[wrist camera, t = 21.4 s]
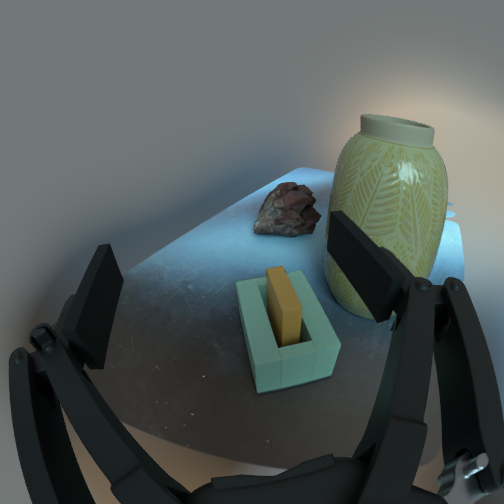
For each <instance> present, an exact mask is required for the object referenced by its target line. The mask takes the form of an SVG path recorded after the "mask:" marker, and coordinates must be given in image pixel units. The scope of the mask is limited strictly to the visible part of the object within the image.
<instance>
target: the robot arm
mask: <svg viewBox="0 0 504 504" xmlns="http://www.w3.org/2000/svg"><path fill="white" fill-rule="evenodd" d="M326 250H327V251H328V253H329V254H330V255H331V257H332V258H333V259H334V261H335V262H336V264H337V265H338V266H339V268H340V269H341V270H342V272H343V273H344V275H345V276H346V278H347V279H348V280H349V282H350V283H351V285H352V286H353V288H354V289H355V290H356V292H357V293H358V295H359V296H360V298H361V299H362V301H363V302H364V304H365V305H366V307H367V308H368V310H369V311H370V313H371V314H372V316H373V317H374V319H375V320H376V322H377V323H379V322H382V321H385V320H388V319H390V317H391V314H392V312H393V311H394V312H395V313H396V315H397V317H396V319H395V321H394V324H393V326H392V328H391V330H390V331H393V333H392V338H391V343H390V348H389V352H388V357H387V361H386V365H385V369H384V373H383V377H382V380H381V384H380V388H379V391H378V394H377V398H376V401H375V404H374V407H373V410H372V413H371V416H370V419H369V422H368V425H367V428H366V431H365V433H364V436H363V438H362V440H361V442H360V443H359V445H358V447H357V449H356V450H355V453H354V455H353V457H352V458H348V457H333V454H332V453H331V454H328V455H325V456H322V457H319V458H315V459H312V460H308V461H305V462H302V463H301V464H299V465H297V466H295V467H293V468H291V469H289V470H287V471H285V472H282V473H280V474H278V475H275V476H254V475H236V476H226V477H216V478H211V482H210V483H207V484H205V485H203V486H201V487H199V488H198V489H196V490H194V491H193V492H192V493H190V492H189V491H188V490H187V489H186V488H185V487H183V486H182V485H181V484H180V483H178V482H177V481H175V480H174V479H173V478H171V477H170V476H169V475H168V474H167V473H166V472H165V471H164V470H163V469H162V468H161V467H160V466H159V465H158V464H157V463H156V462H155V461H154V460H153V459H152V458H151V457H150V456H149V455H148V454H147V452H146V451H145V450H144V449H143V448H142V447H141V446H140V445H139V444H138V442H137V441H136V440H135V439H134V438H133V437H132V435H131V434H130V433H129V432H128V431H127V429H126V428H125V427H124V426H123V424H122V423H121V422H120V421H119V419H118V418H117V417H116V415H115V414H114V413H113V411H112V410H111V409H110V407H109V406H108V404H107V403H106V402H105V400H104V399H103V397H102V396H101V395H100V393H99V392H98V390H97V389H96V387H95V386H94V384H93V383H92V381H91V379H90V378H89V376H88V375H87V373H86V372H85V371H84V369H83V367H84V362H85V363H86V365H87V366H88V367H89V368H90V369H104V363H105V358H106V352H107V347H108V342H109V338H110V333H111V329H112V324H113V320H114V316H115V312H116V308H117V304H118V300H119V296H120V292H121V289H122V285H123V282H124V280H123V277H122V275H121V272H120V270H119V267H118V265H117V262H116V259H115V257H114V254H113V251H112V248H111V246H110V244H104V245H99V246H98V248H97V250H96V252H95V254H94V256H93V258H92V260H91V262H90V264H89V266H88V268H87V270H86V272H85V275H84V277H83V279H82V281H81V283H80V286H79V288H78V290H77V292H76V294H74V295H71V296H70V297H69V298H68V300H67V301H66V302H65V304H64V307H63V309H62V310H63V311H61V314H60V317H59V319H58V321H57V324H56V326H55V329H54V331H53V329H52V328H51V326H50V325H49V324H47V323H41V324H39V325H37V326H36V327H35V328H34V329H33V330H32V331H31V333H30V336H29V342H30V343H31V344H32V345H33V347H34V348H35V349H36V351H35V352H32V353H28V352H27V350H26V349H25V348H23V347H20V348H17V349H16V350H14V351H13V352H12V354H11V356H10V358H9V389H10V390H9V391H10V404H11V414H12V421H13V429H14V436H15V441H16V446H17V451H18V456H19V460H20V464H21V468H22V472H23V476H24V479H25V483H26V486H27V489H28V492H29V495H30V498H31V501H32V504H96V503H95V501H94V499H93V497H92V495H91V493H90V491H89V489H88V487H87V484H86V482H85V479H84V477H83V475H82V472H81V470H80V467H79V465H78V462H77V459H76V457H75V454H74V451H73V448H72V445H71V442H70V439H69V435H68V432H67V429H66V425H65V422H64V418H63V414H62V410H61V406H62V408H63V409H64V411H65V413H66V415H67V417H68V419H69V421H70V423H71V424H72V426H73V428H74V430H75V431H76V433H77V435H78V436H79V438H80V440H81V441H82V443H83V444H84V446H85V448H86V449H87V450H88V452H89V454H90V455H91V457H92V458H93V459H94V461H95V462H96V464H97V465H98V467H99V468H100V469H101V471H102V472H103V473H104V475H105V476H106V477H107V479H108V480H109V481H110V483H111V488H110V489H111V491H112V493H113V494H114V496H115V497H116V499H117V500H118V501H119V502H120V503H121V504H474V503H475V502H477V501H478V500H479V499H481V498H482V497H483V496H485V495H487V494H490V493H493V492H495V491H498V490H500V489H503V488H504V421H503V413H502V407H501V401H500V395H499V390H498V385H497V381H496V376H495V372H494V368H493V364H492V360H491V357H490V353H489V350H488V346H487V343H486V340H485V337H484V334H483V331H482V328H481V325H480V322H479V319H478V317H477V314H476V311H475V309H474V306H473V304H472V301H471V299H470V296H469V294H468V291H467V289H466V287H465V285H464V284H463V283H462V282H461V281H460V280H459V279H457V278H453V277H448V278H446V280H445V282H444V284H443V285H433V284H432V283H431V282H430V281H429V280H427V279H425V278H423V277H415V276H414V275H413V274H412V273H411V272H410V271H409V270H408V268H407V267H406V266H405V265H404V264H403V263H402V262H401V261H400V260H399V259H398V258H396V256H395V255H394V254H393V253H392V252H391V251H390V250H388V249H386V248H385V247H378V246H377V245H376V244H375V243H374V242H373V241H372V240H371V239H370V238H369V237H368V236H367V235H366V234H365V233H364V232H363V231H362V230H361V229H360V228H359V227H358V226H357V225H356V224H355V223H354V222H353V221H352V220H351V219H350V218H349V217H348V216H347V215H346V214H345V213H344V212H343V211H342V210H339V211H330V220H329V231H328V240H327V249H326ZM433 351H434V357H435V363H436V370H437V377H438V385H439V394H440V405H441V421H442V449H443V459H444V465H445V467H444V469H443V471H442V473H441V474H440V475H439V477H438V480H437V481H438V484H439V485H440V489H439V491H438V493H437V494H434V493H432V492H429V491H426V490H424V489H422V488H419V487H416V486H414V485H412V484H413V481H414V478H415V475H416V472H417V469H418V465H419V462H420V459H421V455H422V451H423V448H424V444H425V439H426V435H427V424H425V423H424V421H423V419H424V413H425V408H426V402H427V396H428V390H429V383H430V375H431V366H432V356H433ZM60 404H61V406H60Z"/></svg>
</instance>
